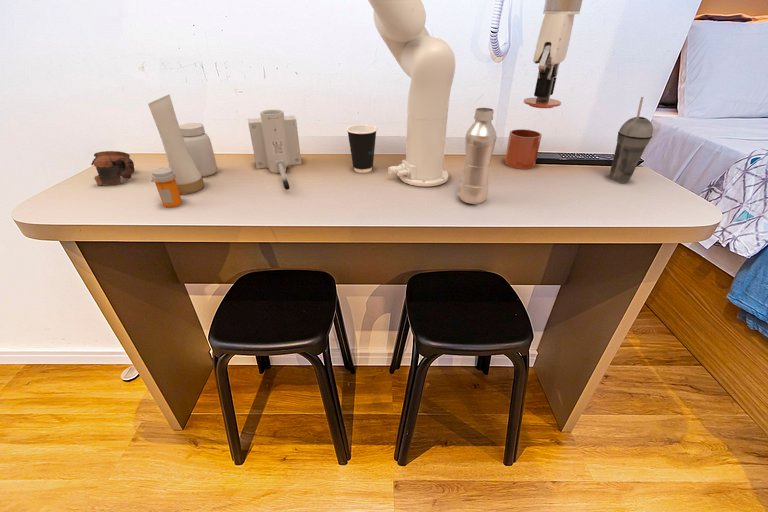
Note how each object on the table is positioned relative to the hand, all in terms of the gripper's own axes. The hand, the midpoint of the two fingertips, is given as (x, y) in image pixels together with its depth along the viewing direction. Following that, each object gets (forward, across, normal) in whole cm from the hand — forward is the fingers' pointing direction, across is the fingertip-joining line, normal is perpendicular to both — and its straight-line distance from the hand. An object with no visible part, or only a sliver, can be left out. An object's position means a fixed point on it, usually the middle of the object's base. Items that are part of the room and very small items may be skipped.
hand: (543, 94), depth 94 cm
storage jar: (+19, -4, -3) cm, 20 cm away
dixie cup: (+19, +27, -36) cm, 49 cm away
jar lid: (+2, 0, 0) cm, 2 cm away
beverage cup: (+19, -7, +21) cm, 30 cm away
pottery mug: (+19, +69, -81) cm, 108 cm away
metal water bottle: (+19, +27, -3) cm, 34 cm away
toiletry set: (+19, +61, -63) cm, 90 cm away
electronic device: (+19, +43, -49) cm, 68 cm away
